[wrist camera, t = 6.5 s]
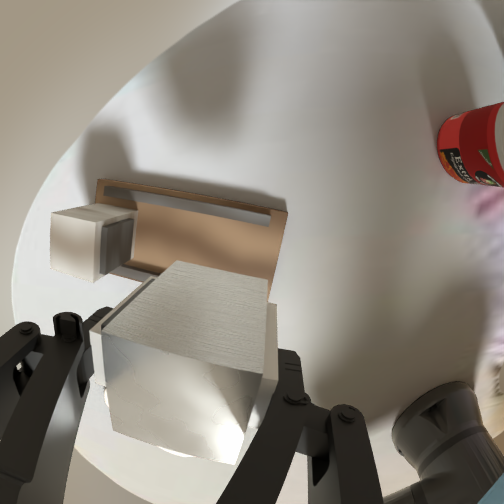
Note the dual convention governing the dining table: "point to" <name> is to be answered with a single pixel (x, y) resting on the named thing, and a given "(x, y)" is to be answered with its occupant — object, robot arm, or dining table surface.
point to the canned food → (474, 146)
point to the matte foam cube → (187, 360)
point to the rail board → (163, 234)
